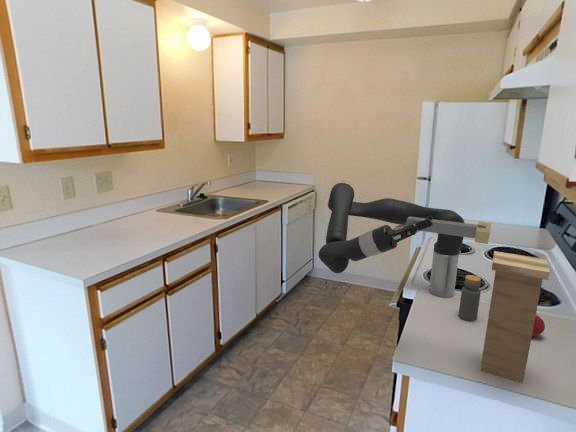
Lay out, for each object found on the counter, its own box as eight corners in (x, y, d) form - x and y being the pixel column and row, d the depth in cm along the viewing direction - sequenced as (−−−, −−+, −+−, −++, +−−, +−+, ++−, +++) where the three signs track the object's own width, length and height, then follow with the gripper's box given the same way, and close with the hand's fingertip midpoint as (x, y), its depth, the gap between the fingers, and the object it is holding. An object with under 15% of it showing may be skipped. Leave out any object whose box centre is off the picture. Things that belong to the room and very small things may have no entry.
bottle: (478, 322, 128) (484, 281, 124) (460, 320, 129) (465, 280, 125) (474, 314, 133) (479, 274, 130) (456, 312, 135) (461, 273, 131)
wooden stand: (478, 352, 111) (494, 251, 103) (526, 365, 105) (546, 259, 97) (476, 371, 103) (492, 262, 95) (527, 387, 97) (549, 272, 89)
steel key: (411, 223, 113) (412, 213, 112) (489, 233, 102) (491, 223, 102) (403, 232, 104) (403, 221, 104) (487, 244, 94) (489, 232, 93)
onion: (544, 335, 120) (549, 313, 118) (539, 342, 116) (544, 319, 114) (524, 328, 124) (528, 306, 122) (518, 335, 120) (522, 312, 118)
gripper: (389, 245, 120) (442, 226, 110) (376, 259, 108) (433, 239, 99) (379, 224, 120) (430, 203, 110) (364, 236, 108) (420, 213, 99)
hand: (431, 220), depth 105 cm, fingers closed on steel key, 3 cm apart
